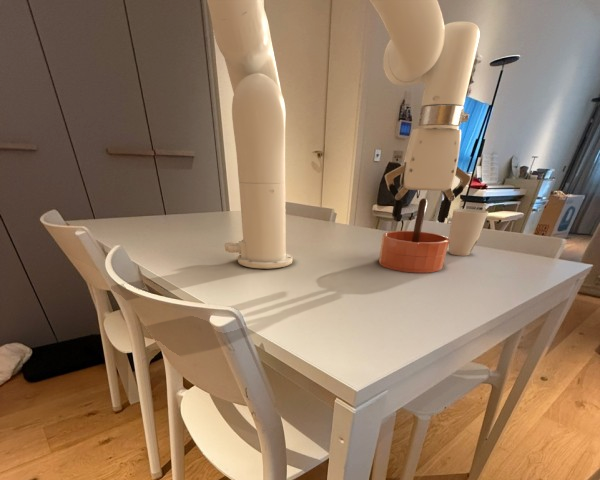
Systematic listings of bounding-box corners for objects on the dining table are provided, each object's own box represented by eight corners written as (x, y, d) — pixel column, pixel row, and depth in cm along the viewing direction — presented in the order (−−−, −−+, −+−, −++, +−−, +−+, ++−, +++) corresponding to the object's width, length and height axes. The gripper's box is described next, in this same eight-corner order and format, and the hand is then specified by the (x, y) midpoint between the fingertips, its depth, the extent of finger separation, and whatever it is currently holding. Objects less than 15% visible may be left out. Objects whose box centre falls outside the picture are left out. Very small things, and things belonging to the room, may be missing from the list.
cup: (480, 257, 86) (494, 213, 80) (448, 256, 86) (460, 212, 80) (468, 250, 92) (480, 209, 87) (438, 249, 92) (449, 208, 87)
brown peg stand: (403, 264, 77) (415, 199, 69) (398, 258, 81) (410, 197, 73) (424, 264, 77) (438, 199, 69) (418, 259, 80) (432, 197, 73)
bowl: (384, 271, 73) (389, 242, 70) (374, 256, 85) (378, 230, 81) (450, 273, 73) (459, 243, 69) (431, 257, 85) (438, 231, 81)
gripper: (477, 123, 67) (452, 219, 77) (389, 121, 67) (376, 217, 77) (493, 119, 60) (464, 225, 70) (397, 117, 61) (381, 222, 71)
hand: (418, 221), depth 74 cm, fingers open, 9 cm apart
